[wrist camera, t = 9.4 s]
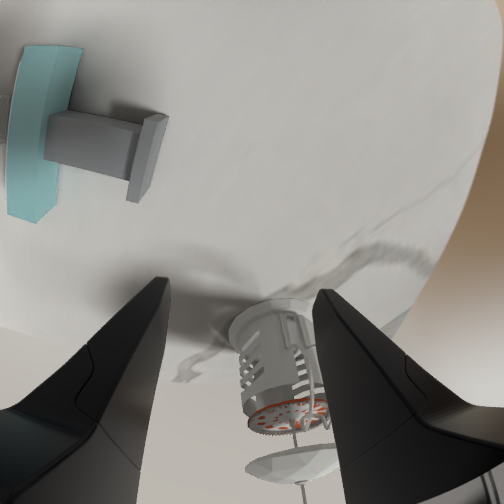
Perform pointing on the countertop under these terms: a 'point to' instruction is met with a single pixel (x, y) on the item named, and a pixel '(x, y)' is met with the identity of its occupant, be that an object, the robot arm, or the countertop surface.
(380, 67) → the countertop surface
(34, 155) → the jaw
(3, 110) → the block
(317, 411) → the french press
